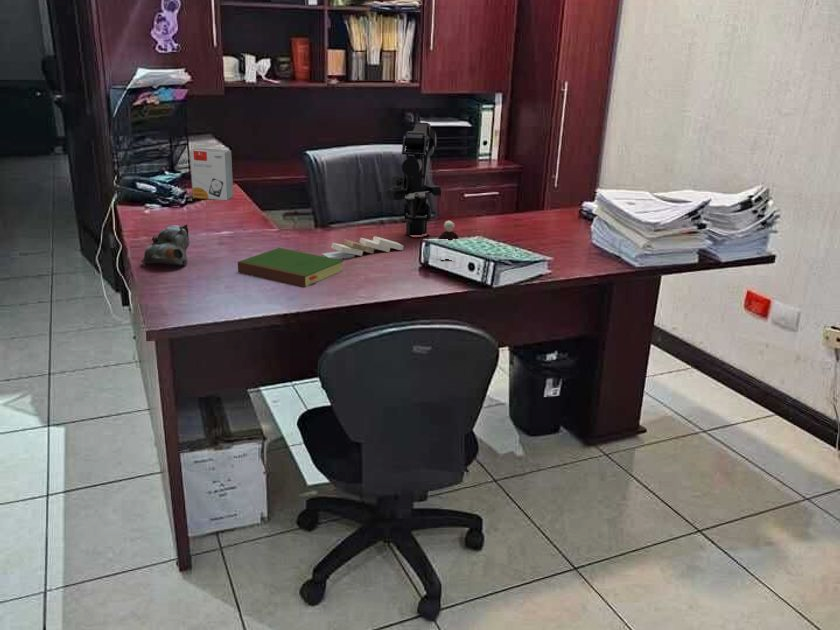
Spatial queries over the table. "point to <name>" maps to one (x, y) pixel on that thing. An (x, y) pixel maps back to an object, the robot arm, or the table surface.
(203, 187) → the hard drive box
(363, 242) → the domino
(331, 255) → the domino
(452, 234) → the grandmother figurine
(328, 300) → the table surface
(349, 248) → the domino
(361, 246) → the domino
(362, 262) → the table surface
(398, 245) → the domino
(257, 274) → the hardcover book
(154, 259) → the grey lumpy figure
